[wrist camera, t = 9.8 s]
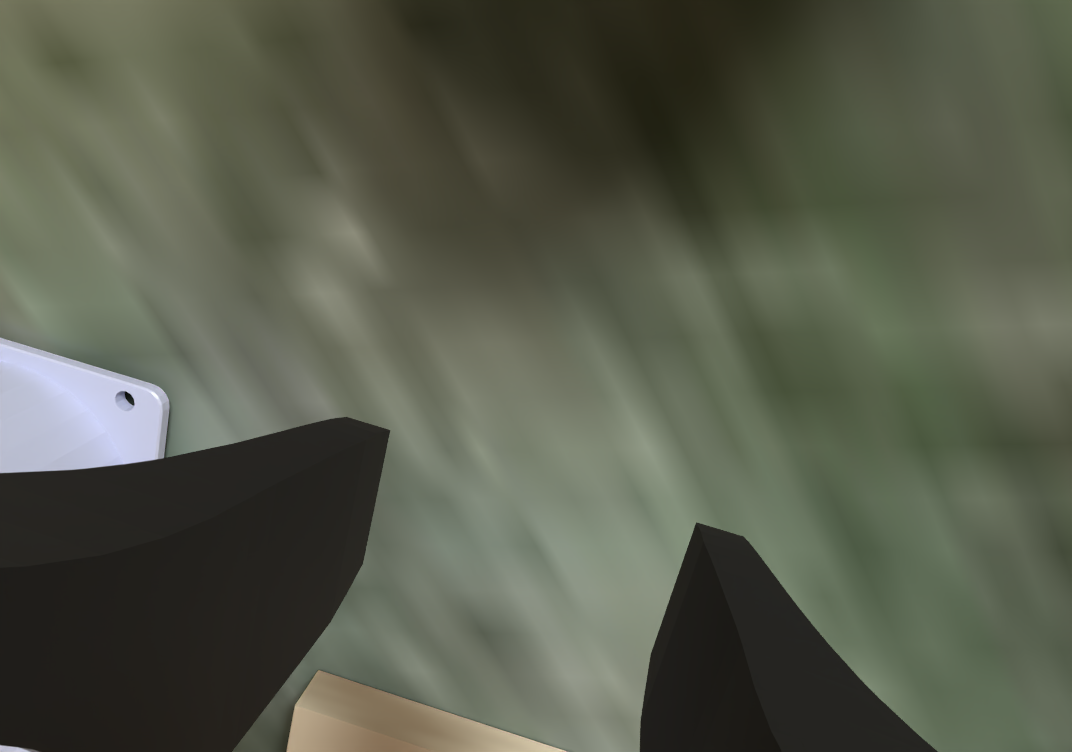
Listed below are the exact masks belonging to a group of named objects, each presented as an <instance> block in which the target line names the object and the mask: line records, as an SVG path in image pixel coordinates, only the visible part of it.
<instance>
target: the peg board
mask: <svg viewBox="0 0 1072 752" xmlns="http://www.w3.org/2000/svg"><path fill="white" fill-rule="evenodd" d="M286 752H567V751H564V750H561V749H558V748H555V747H552V746H549V745H546V744H542V743H539V742H536V741H533V740H530V739H527V738H524V737H521V736H518V735H515V734H512V733H509V732H506V731H503V730H500V729H497V728H494V727H491V726H488V725H485V724H482V723H479V722H475V721H472V720H469V719H466V718H463V717H460V716H457V715H454V714H451V713H448V712H445V711H442V710H439V709H436V708H433V707H430V706H427V705H424V704H421V703H418V702H415V701H411V700H408V699H405V698H402V697H399V696H396V695H393V694H390V693H387V692H384V691H381V690H378V689H375V688H372V687H369V686H366V685H363V684H360V683H357V682H354V681H351V680H347V679H344V678H341V677H338V676H335V675H332V674H329V673H326V672H323V671H320V670H318V671H317V673H316V674H315V676H314V677H313V679H312V680H311V682H310V683H309V685H308V686H307V688H306V689H305V691H304V692H303V694H302V695H301V697H300V698H299V700H298V701H297V703H296V705H295V708H294V714H293V719H292V724H291V730H290V735H289V741H288V746H287V751H286Z"/></svg>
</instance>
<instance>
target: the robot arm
mask: <svg viewBox="0 0 1072 752" xmlns="http://www.w3.org/2000/svg"><path fill="white" fill-rule="evenodd" d="M125 391H126V392H128V393H130V394H131V395H132V397H133V398H134V403H135V405H134V406H133V405H131V404H130V403H128V401H127V400H126V398H125ZM169 408H170V407H169V400H168V397H167V395H166V393H165V392H164V391H163V390H162V389H161V388H160V387H158V386H156V385H154V384H151V383H148V382H144V381H141V380H138V379H135V378H131V377H128V376H125V375H121V374H118V373H115V372H111V371H108V370H105V369H102V368H98V367H95V366H92V365H88V364H85V363H82V362H79V361H75V360H72V359H69V358H65V357H62V356H59V355H56V354H52V353H49V352H46V351H42V350H39V349H36V348H33V347H29V346H26V345H23V344H19V343H16V342H13V341H9V340H6V339H3V338H0V752H232V751H233V750H234V748H235V747H236V745H237V744H238V743H239V742H240V740H241V739H242V738H243V736H244V735H245V734H246V732H247V731H248V730H249V728H250V727H251V726H252V725H253V723H254V722H255V721H256V719H257V718H258V717H259V715H260V714H261V713H262V711H263V710H264V709H265V708H266V706H267V705H268V704H269V702H270V701H271V700H272V698H273V697H274V696H275V694H276V693H277V692H278V691H279V689H280V688H281V687H282V685H283V684H284V683H285V681H286V680H287V679H288V678H289V676H290V675H291V674H292V672H293V671H294V670H295V668H296V667H297V666H298V664H299V663H300V662H301V660H302V659H303V658H304V656H305V655H306V654H307V652H308V651H309V650H310V648H311V647H312V646H313V645H314V643H315V642H316V641H317V639H318V638H319V637H320V635H321V634H322V632H323V631H324V630H325V628H326V627H327V626H328V624H329V623H330V622H331V620H332V618H333V616H334V615H335V613H336V611H337V609H338V608H339V606H340V604H341V602H342V601H343V599H344V597H345V595H346V594H347V592H348V590H349V588H350V586H351V584H352V583H353V581H354V579H355V577H356V575H357V573H358V571H359V570H360V568H361V566H362V564H363V560H364V555H365V551H366V546H367V541H368V536H369V531H370V526H371V521H372V516H373V512H374V507H375V502H376V497H377V492H378V487H379V482H380V477H381V472H382V468H383V463H384V458H385V453H386V448H387V443H388V438H389V433H390V430H388V429H384V428H381V427H378V426H374V425H371V424H368V423H365V422H361V421H358V420H355V419H351V418H348V417H343V418H335V419H329V420H325V421H320V422H316V423H312V424H308V425H304V426H300V427H296V428H292V429H289V430H285V431H281V432H277V433H273V434H269V435H265V436H262V437H258V438H254V439H250V440H246V441H242V442H238V443H234V444H229V445H225V446H220V447H215V448H210V449H206V450H201V451H196V452H192V453H187V454H182V455H177V456H173V457H168V458H164V452H165V444H166V435H167V426H168V417H169ZM640 752H937V751H936V750H935V749H934V748H933V747H932V746H930V745H929V744H928V743H927V742H926V741H925V740H923V739H922V738H921V737H920V736H919V735H918V734H917V733H916V732H915V731H913V730H912V729H911V728H910V727H909V726H908V725H907V724H906V723H905V722H904V721H903V720H902V719H901V718H900V717H898V716H897V715H896V714H895V713H894V712H893V711H892V710H891V709H890V708H889V707H888V706H887V705H886V704H885V703H883V702H882V701H881V700H880V699H879V698H878V697H877V696H876V695H875V694H874V693H873V692H872V691H871V690H870V689H869V688H868V687H867V686H866V685H865V684H864V683H863V682H862V681H861V680H860V678H859V677H858V676H857V675H856V674H855V673H854V672H853V671H852V670H851V669H850V667H849V666H848V665H847V664H846V663H845V662H844V661H843V660H842V659H841V657H840V656H839V655H838V654H837V653H836V652H835V651H834V650H833V649H832V647H831V646H830V645H829V644H828V643H827V642H826V641H825V639H824V638H823V637H822V636H821V635H820V633H819V632H818V631H817V630H816V629H815V627H814V626H813V625H812V624H811V622H810V621H809V620H808V619H807V618H806V616H805V615H804V614H803V612H802V611H801V610H800V609H799V607H798V606H797V605H796V604H795V602H794V601H793V600H792V598H791V597H790V596H789V594H788V593H787V592H786V591H785V589H784V588H783V587H782V585H781V584H780V583H779V581H778V580H777V579H776V577H775V576H774V574H773V573H772V572H771V570H770V569H769V568H768V566H767V565H766V564H765V562H764V561H763V560H762V558H761V557H760V556H759V554H758V553H757V552H756V551H755V549H754V548H753V547H752V546H751V544H750V543H749V542H748V541H747V540H746V539H745V538H744V537H743V536H740V535H736V534H733V533H730V532H726V531H723V530H720V529H716V528H713V527H710V526H706V525H703V524H700V523H696V525H695V528H694V531H693V534H692V537H691V539H690V542H689V545H688V548H687V551H686V554H685V557H684V560H683V563H682V566H681V568H680V571H679V574H678V577H677V580H676V583H675V586H674V589H673V592H672V595H671V597H670V600H669V603H668V606H667V609H666V612H665V615H664V618H663V621H662V624H661V626H660V629H659V632H658V635H657V638H656V641H655V644H654V647H653V650H652V653H651V657H650V663H649V669H648V676H647V682H646V688H645V695H644V702H643V709H642V716H641V728H640Z"/></svg>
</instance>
